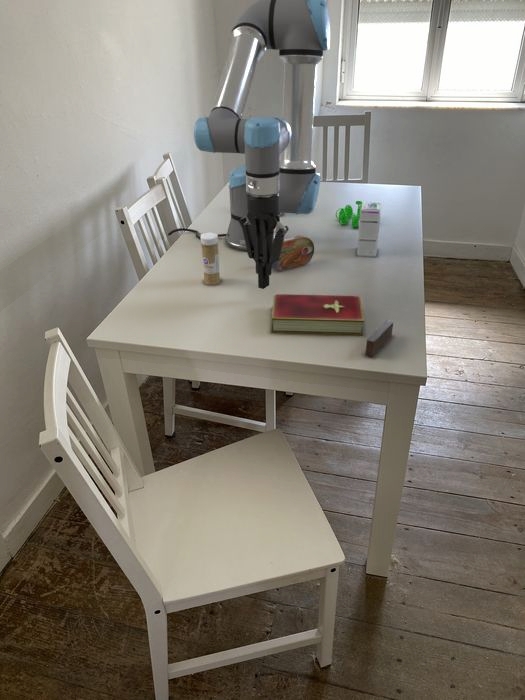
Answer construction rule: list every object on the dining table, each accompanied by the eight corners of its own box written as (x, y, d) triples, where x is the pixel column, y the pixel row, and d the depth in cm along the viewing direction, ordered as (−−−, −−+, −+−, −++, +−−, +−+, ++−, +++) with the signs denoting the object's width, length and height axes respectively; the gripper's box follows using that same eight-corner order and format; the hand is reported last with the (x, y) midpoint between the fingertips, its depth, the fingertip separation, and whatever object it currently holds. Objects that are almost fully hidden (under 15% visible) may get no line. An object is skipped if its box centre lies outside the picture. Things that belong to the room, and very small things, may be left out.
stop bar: (365, 355, 115) (366, 340, 112) (384, 334, 121) (387, 320, 119) (371, 357, 114) (373, 342, 112) (391, 337, 121) (393, 322, 118)
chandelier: (376, 232, 172) (378, 211, 168) (330, 227, 176) (332, 207, 172) (382, 216, 184) (384, 197, 180) (339, 212, 188) (341, 193, 184)
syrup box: (376, 257, 156) (381, 209, 148) (356, 255, 157) (360, 208, 149) (376, 249, 161) (382, 202, 153) (357, 248, 162) (361, 201, 154)
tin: (268, 274, 148) (268, 245, 143) (263, 269, 150) (263, 241, 146) (314, 262, 154) (315, 235, 149) (308, 258, 156) (309, 231, 151)
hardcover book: (274, 307, 133) (274, 292, 130) (358, 309, 131) (360, 294, 129) (271, 332, 123) (271, 317, 120) (362, 335, 121) (364, 319, 119)
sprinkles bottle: (201, 284, 144) (197, 237, 136) (208, 276, 147) (205, 230, 139) (216, 286, 142) (213, 239, 135) (223, 279, 146) (220, 233, 138)
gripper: (229, 192, 120) (234, 285, 133) (277, 202, 113) (276, 299, 127) (249, 183, 125) (252, 274, 138) (296, 193, 118) (293, 287, 132)
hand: (263, 286), depth 132 cm, fingers closed
